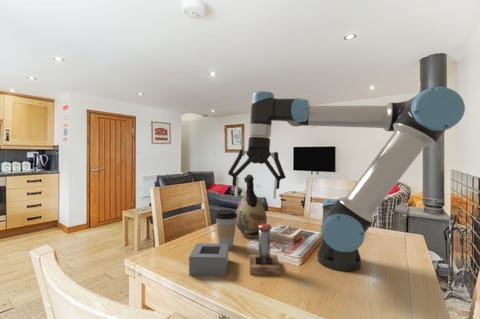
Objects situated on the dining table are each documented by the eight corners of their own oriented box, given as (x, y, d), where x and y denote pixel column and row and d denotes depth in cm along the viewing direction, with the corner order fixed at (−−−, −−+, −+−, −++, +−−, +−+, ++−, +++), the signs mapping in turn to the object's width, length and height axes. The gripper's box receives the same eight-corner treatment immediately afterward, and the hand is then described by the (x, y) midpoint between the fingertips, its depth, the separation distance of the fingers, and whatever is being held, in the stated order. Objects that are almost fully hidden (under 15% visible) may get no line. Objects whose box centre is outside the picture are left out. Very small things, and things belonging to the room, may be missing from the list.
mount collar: (276, 261, 91) (276, 255, 91) (280, 275, 81) (280, 267, 81) (249, 261, 91) (249, 254, 91) (250, 274, 81) (250, 267, 81)
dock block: (228, 259, 92) (228, 243, 92) (225, 275, 80) (225, 257, 80) (196, 259, 93) (196, 243, 93) (188, 274, 81) (188, 256, 80)
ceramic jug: (234, 229, 128) (235, 172, 128) (264, 229, 129) (264, 172, 128) (235, 241, 111) (235, 175, 111) (269, 241, 112) (270, 175, 111)
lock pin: (270, 265, 88) (270, 223, 88) (271, 271, 84) (271, 227, 83) (257, 264, 88) (257, 223, 88) (257, 270, 84) (258, 227, 83)
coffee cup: (234, 251, 100) (234, 215, 99) (211, 249, 102) (212, 213, 101) (238, 243, 109) (239, 209, 109) (218, 241, 111) (218, 208, 111)
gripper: (291, 140, 92) (286, 196, 93) (224, 134, 89) (219, 192, 90) (297, 139, 84) (292, 201, 85) (224, 133, 82) (220, 196, 83)
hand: (254, 196), depth 88 cm, fingers open, 13 cm apart
